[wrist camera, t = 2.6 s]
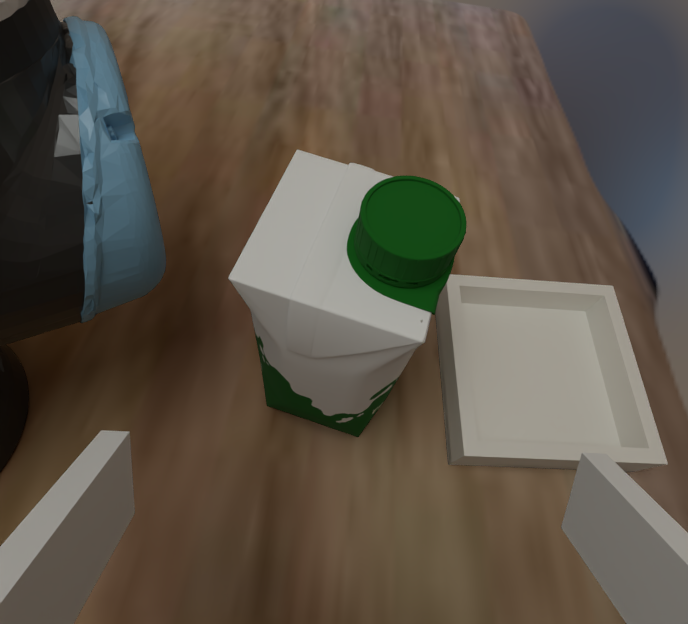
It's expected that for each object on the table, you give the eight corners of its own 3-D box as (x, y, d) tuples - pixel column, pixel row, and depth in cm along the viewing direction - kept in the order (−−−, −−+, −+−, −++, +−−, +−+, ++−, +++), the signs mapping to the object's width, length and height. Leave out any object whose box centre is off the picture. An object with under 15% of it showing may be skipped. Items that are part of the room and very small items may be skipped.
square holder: (448, 464, 32) (464, 455, 29) (433, 295, 38) (445, 273, 35) (632, 471, 33) (667, 464, 30) (588, 306, 39) (612, 285, 36)
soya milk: (366, 453, 32) (454, 338, 14) (248, 412, 32) (189, 251, 15) (396, 347, 36) (493, 154, 18) (291, 312, 36) (286, 93, 19)
